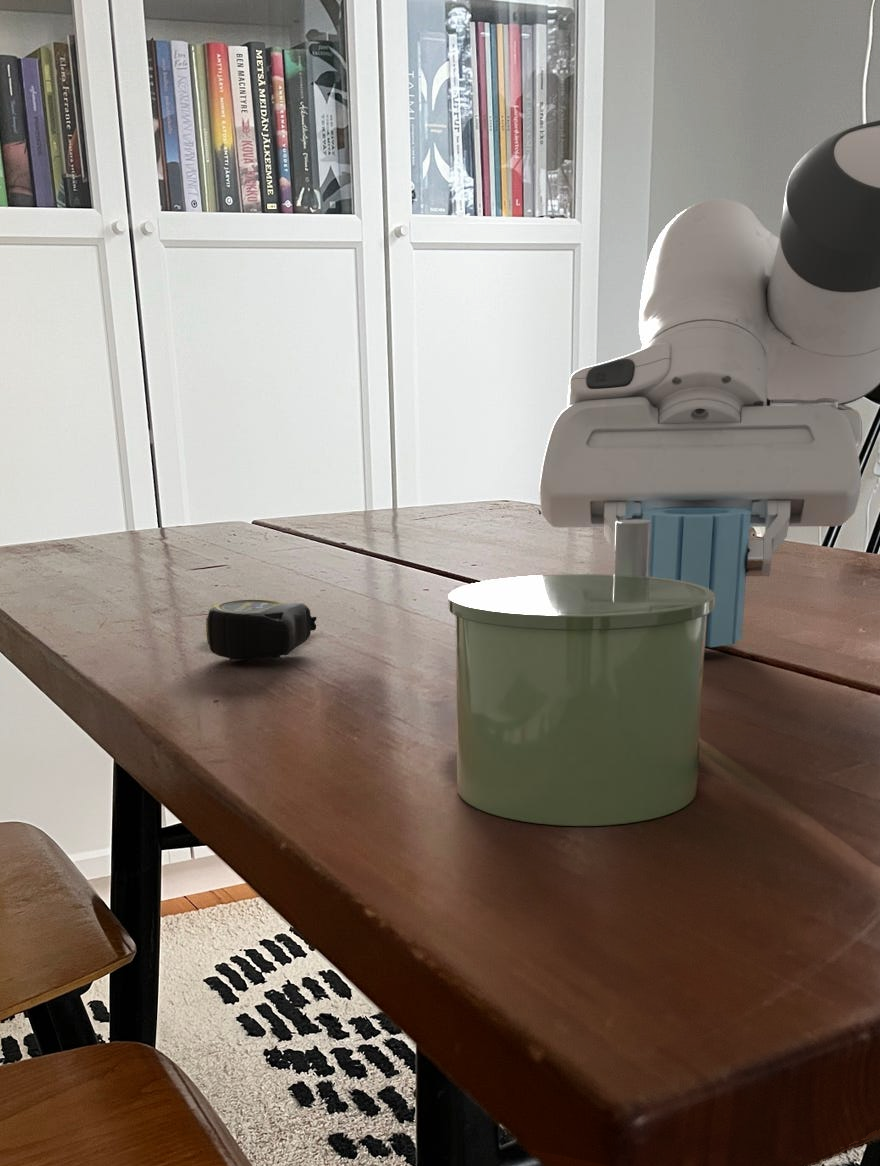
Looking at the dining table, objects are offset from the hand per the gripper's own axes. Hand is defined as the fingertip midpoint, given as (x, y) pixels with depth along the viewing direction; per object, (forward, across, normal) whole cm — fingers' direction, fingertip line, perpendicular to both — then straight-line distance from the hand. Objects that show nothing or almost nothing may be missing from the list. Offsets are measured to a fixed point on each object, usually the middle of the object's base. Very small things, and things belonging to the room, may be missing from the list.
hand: (692, 570), depth 80 cm
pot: (+20, +4, +11) cm, 24 cm away
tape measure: (+4, +29, -5) cm, 30 cm away
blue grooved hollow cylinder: (+3, 0, -4) cm, 4 cm away
